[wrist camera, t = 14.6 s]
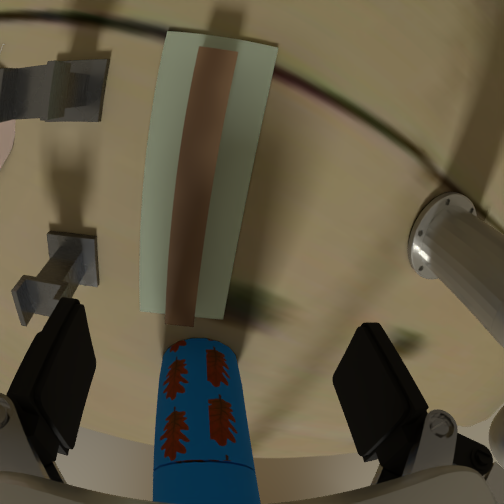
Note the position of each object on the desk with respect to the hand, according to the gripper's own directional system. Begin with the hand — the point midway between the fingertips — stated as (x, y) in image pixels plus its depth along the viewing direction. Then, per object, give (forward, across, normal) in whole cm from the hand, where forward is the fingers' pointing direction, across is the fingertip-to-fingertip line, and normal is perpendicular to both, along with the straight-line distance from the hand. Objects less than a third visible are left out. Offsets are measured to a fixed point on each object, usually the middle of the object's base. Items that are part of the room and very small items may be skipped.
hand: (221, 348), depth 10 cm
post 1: (+21, +15, -8) cm, 27 cm away
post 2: (+21, +15, +10) cm, 28 cm away
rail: (+21, +2, +1) cm, 21 cm away
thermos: (+22, 0, +25) cm, 33 cm away
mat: (+21, +2, +1) cm, 21 cm away
